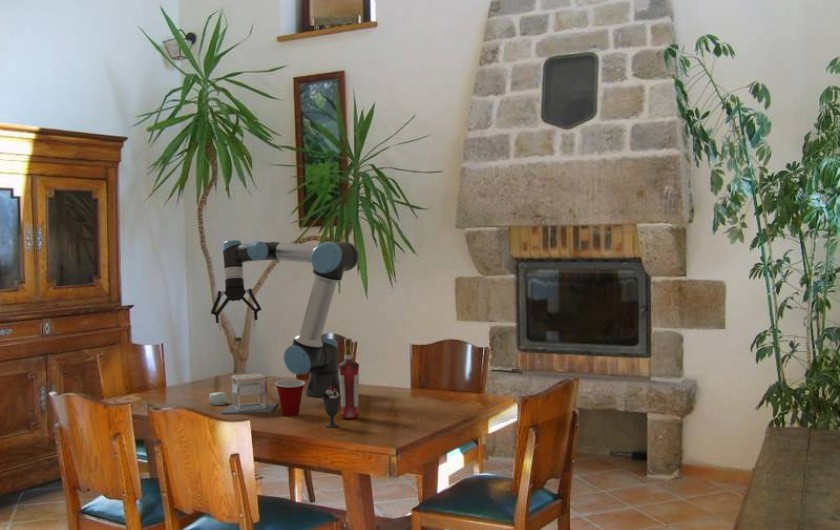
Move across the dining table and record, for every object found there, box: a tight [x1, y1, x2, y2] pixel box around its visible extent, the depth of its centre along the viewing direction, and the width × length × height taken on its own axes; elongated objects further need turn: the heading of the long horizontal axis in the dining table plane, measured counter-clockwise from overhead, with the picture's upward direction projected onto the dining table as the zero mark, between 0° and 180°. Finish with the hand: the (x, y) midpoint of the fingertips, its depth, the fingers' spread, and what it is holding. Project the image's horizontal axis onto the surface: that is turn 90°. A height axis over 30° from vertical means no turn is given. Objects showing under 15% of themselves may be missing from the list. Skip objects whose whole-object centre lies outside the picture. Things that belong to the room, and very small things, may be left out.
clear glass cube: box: [231, 372, 269, 412], centre depth 341 cm, size 11×11×12 cm
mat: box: [221, 403, 278, 415], centre depth 341 cm, size 18×16×1 cm
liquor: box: [338, 338, 360, 420], centre depth 320 cm, size 7×7×28 cm
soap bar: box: [208, 391, 227, 406], centre depth 355 cm, size 6×6×4 cm
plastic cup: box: [274, 379, 306, 417], centre depth 329 cm, size 11×11×12 cm
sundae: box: [321, 382, 341, 429], centre depth 306 cm, size 7×7×15 cm
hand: (237, 329), depth 370 cm, fingers open, 13 cm apart
